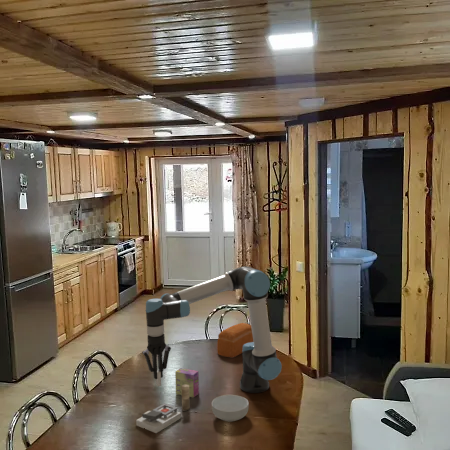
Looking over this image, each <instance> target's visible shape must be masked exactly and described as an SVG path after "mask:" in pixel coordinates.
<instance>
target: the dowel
mask: <svg viewBox="0 0 450 450" xmlns="http://www.w3.org/2000/svg"><path fill="white" fill-rule="evenodd" d="M181 388H182V395H181V410H182V411H189V410H190V408H191V407H190V406H191V405H190V403H191V401H190V397H189V385H182V386H181Z"/></svg>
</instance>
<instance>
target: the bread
mask: <svg viewBox="0 0 450 450" xmlns="http://www.w3.org/2000/svg"><path fill="white" fill-rule="evenodd" d="M217 337H218V338H217V349H216V350H217V354H218V355H219V356H222V357H224V358H225V357H226V358H236V357H237V356H240V355H242V354H243V353H242V350H243V345H244V344H246V343H250V342H254V341H253V335H252V328H251V324H250V323H249V324H248V323H246V322H240V323H238V324H234V325H232V326H230V327H227V328H225V329H224V330H221V332H219V334H218V336H217Z"/></svg>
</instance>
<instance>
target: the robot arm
mask: <svg viewBox="0 0 450 450" xmlns="http://www.w3.org/2000/svg"><path fill="white" fill-rule="evenodd" d="M270 287H271V281H270V278H269V276H268V275H267V273H265V272H263V271H262V270H259V269H256V268H253V267H251V266H247V265H246V266H240V267H236V268H233V269H231V270H228V271H226V272H224V273H223V275H221V276H218V277H215V278H213V279H209V280H206V281H204V282H201V283H198V284H195V285H193V286H190V287H188V288H184V289H182V290H179V291H175V292H173V293H167V292H166V293H164V294H162V295H161V296H160V298H150V299H148V300H146V302H145V316H146V334H147V346H146V349H145V350H143V351H142V354H143V356H144V358H145V361H146V364H147V368H148V370H149V371H150V372H151V373H153V378H154V380H155V385H156V386H157V387H162V378H163V377H164V374H163V372H164V370H166V369H167V368H168V367H167V366H168V361H169V355H170V352H171V349H172V348H171V346H169V345H167V343H166V340H165V339H166V337H165V322H164V321H166V320H172V319H180V318H185V317H188V316H189V315H191V314H190V313H191V307H190V304H194V303H196V302H199V301H202V300H204V299H207V298H210V297H212V296H213V297H214V296H216V295H219V294H221V293H223V292H226V291H230V292H232V291H235V290H242V295H243V296H242V297H243V300H245V301H246V302H247V307H248V315H249V320H250V321H249V322H250V325H251V328H252V335H253V341H254V342H250V343H246V344H244V345H243V350H242V353H241V354H242V374H241V378H240V381H239V388H240V389H241V391H243V392H246V393H251V394H257V393H259V394H260V393H263V392H266V391H267V390H269V388H270V382H269V381H271V380H275V379H276V378H278V376H279V375H280V373H281V372H282V362H281V361H280V359H279V358H278V357H277V349H276V347H274V346H273V344H272V338H271V337H272V336H271V330H270V321H269V316H268V310H267V309H268V308H267V302H266V299H267V298H268V296H269V295H268V292H269V290H270ZM149 354H151V356H152V357H151V358H150V356H149ZM163 354H164V355H163ZM151 359H152V362H151Z"/></svg>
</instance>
